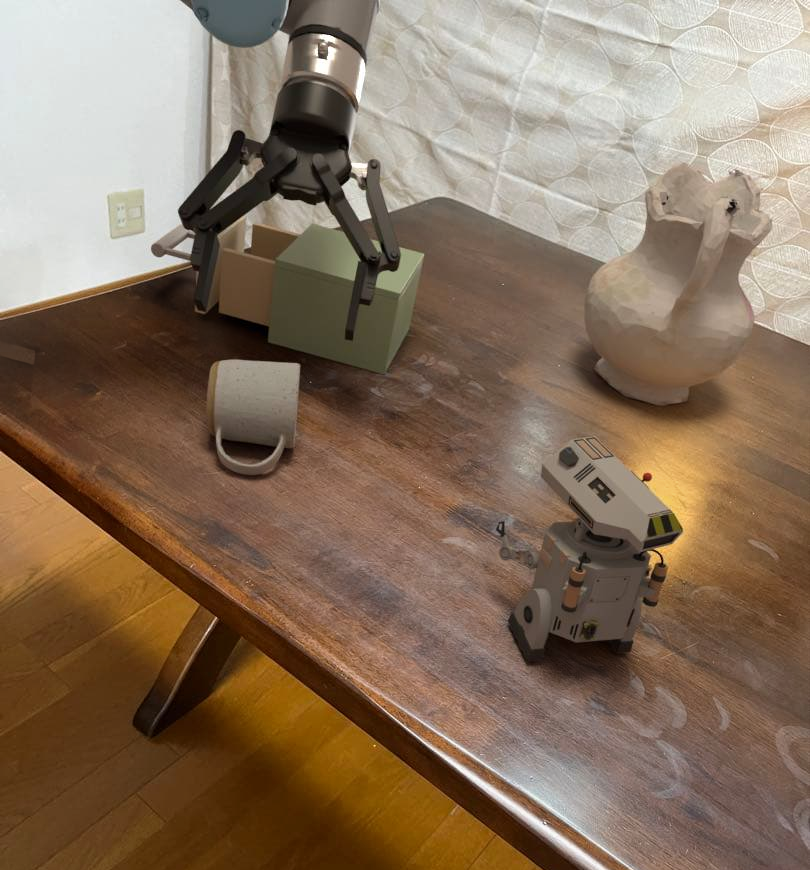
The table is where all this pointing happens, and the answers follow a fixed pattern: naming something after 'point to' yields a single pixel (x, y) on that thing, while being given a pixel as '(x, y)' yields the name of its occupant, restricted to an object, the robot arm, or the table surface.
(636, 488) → the figurine
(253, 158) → the robot arm
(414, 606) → the table surface
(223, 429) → the ceramic mug
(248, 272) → the drawer
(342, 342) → the cabinet
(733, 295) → the ceramic pitcher
